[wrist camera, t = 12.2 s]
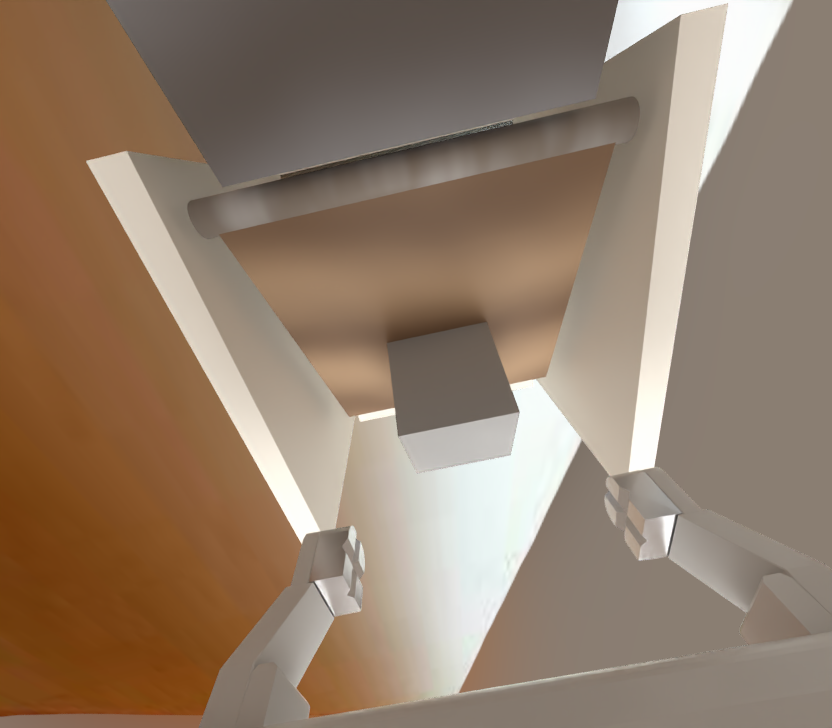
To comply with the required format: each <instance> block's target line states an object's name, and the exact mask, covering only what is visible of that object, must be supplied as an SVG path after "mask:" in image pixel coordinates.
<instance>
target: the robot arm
mask: <svg viewBox="0 0 832 728" xmlns="http://www.w3.org/2000/svg"><path fill="white" fill-rule="evenodd" d="M606 486H607V488H608V489H609V491H608V492H607V493H606V495H605V506H606V510H607V513H608V515H609V517H610V519H611V521H612V522H613V524H614V525H615V526H616V527H617V528H619V529H621V530H622V531H624V532H625V538H624V540H625V542H626V543H627V545H628V546H629V548H630V549H631V551H632V552H633V554H634V555H635V557H636V558H637V560H638V561H642V560H648V559H655V558H662V557H669V559H670V560H672V561H673V562H675V563H676V564H678V565H679V566H680V567H682V568H683V569H685V570H686V571H688V572H689V573H690V574H692V575H693V576H695V577H696V578H698V579H699V580H700V581H702V582H703V583H705V584H706V585H707V586H709V587H710V588H712V589H713V590H715V591H716V592H718V593H719V594H720V595H722V596H723V597H724V598H726V599H727V600H729V601H730V602H732V603H733V604H734V605H736V606H737V607H739V608H740V609H742V610H743V611H744V612H746V615H745V618H744V620H743V622H742V625H741V627H740V631H739V634H740V635H741V637H742V638H743V639H744V641H745V642H746V643H747V644H748V645H745V646H739V647H733V648H727V649H721V650H715V651H709V652H703V653H697V654H691V655H685V656H679V657H673V658H667V659H662V660H655V661H650V662H643V663H637V664H632V665H625V666H619V667H613V668H607V669H602V670H596V671H589V672H583V673H578V674H572V675H566V676H560V677H553V678H548V679H541V680H535V681H529V682H523V683H518V684H512V685H506V686H500V687H494V688H488V689H482V690H476V691H470V692H464V693H458V694H452V695H446V696H440V697H434V698H428V699H422V700H416V701H410V702H404V703H398V704H392V705H386V706H380V707H374V708H368V709H362V710H356V711H350V712H344V713H339V714H333V715H327V716H321V717H315V718H309V719H308V717H309V710H310V706H309V704H308V702H307V701H306V699H305V698H304V697H303V696H302V695H301V693H300V692H299V691H298V690H297V689H296V687H297V686H298V684H299V682H300V680H301V678H302V676H303V675H304V673H305V671H306V669H307V667H308V665H309V664H310V662H311V660H312V658H313V656H314V655H315V653H316V651H317V649H318V647H319V645H320V644H321V642H322V640H323V638H324V636H325V634H326V633H327V631H328V629H329V627H330V625H331V623H332V622H333V620H334V617H335V616H340V615H344V614H349V613H354V612H358V611H361V605H362V593H363V587H362V585H361V582H360V578H361V577H362V575H363V574H364V567H365V560H364V551H363V547H362V544H361V542H360V541H359V540H357V539H356V531H355V529H354V526H349V527H343V528H337V529H331V530H324V531H319V532H313V533H308V534H306V535H305V537H304V539H303V542H302V545H301V549H300V553H299V557H298V560H297V564H296V568H295V572H294V575H293V579H292V583H291V586H290V587H286V588H285V589H284V590H283V592H282V593H281V594H280V595H279V597H278V598H277V599H276V600H275V602H274V603H273V604H272V605H271V607H270V608H269V609H268V610H267V612H266V613H265V614H264V615H263V617H262V618H261V619H260V620H259V622H258V623H257V624H256V625H255V627H254V628H253V629H252V630H251V632H250V633H249V634H248V635H247V637H246V638H245V639H244V640H243V642H242V643H241V644H240V645H239V647H238V648H237V649H236V650H235V652H234V653H233V654H232V655H231V657H230V658H229V659H228V660H227V662H226V663H225V664H224V665H223V667H222V668H221V669H220V671H219V674H218V677H217V680H216V682H215V685H214V688H213V690H212V693H211V696H210V699H209V701H208V704H207V707H206V709H205V712H204V715H203V717H202V720H201V723H200V726H199V728H832V570H831V569H830V568H829V567H828V566H826V565H825V564H824V563H822V562H820V561H817V560H815V559H813V558H811V557H809V556H807V555H805V554H802V553H800V552H798V551H796V550H794V549H792V548H790V547H787V546H785V545H783V544H781V543H779V542H776V541H774V540H772V539H770V538H768V537H766V536H764V535H762V534H760V533H757V532H755V531H753V530H751V529H749V528H747V527H745V526H742V525H740V524H738V523H736V522H734V521H732V520H730V519H727V518H725V517H723V516H721V515H719V514H716V513H715V512H713V511H710V510H708V509H707V510H702V509H701V508H700V507H699V506H698V505H697V504H696V503H695V502H694V501H693V500H692V499H691V498H690V497H689V496H688V495H687V494H686V493H685V492H684V491H683V490H682V489H681V488H680V487H679V486H678V485H677V484H676V483H675V482H674V481H673V480H672V479H671V478H670V477H669V476H668V475H667V473H665V471H664V470H663V469H661V468H659V467H654V468H649V469H644V470H637V471H632V472H627V473H622V474H617V475H613V476H608V477H607V479H606Z"/></svg>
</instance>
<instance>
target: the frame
mask: <svg viewBox="0 0 832 728" xmlns="http://www.w3.org/2000/svg"><path fill="white" fill-rule="evenodd" d="M727 8H728V3H727V4H723V5H719V6H715V7H711V8H707V9H703V10H698V11H694V12H690V13H686V14H682V15H680V16H678V17H677V18H675V19H673V20H672V21H670V22H669V23H667V24H665V25H664V26H662V27H661V28H659V29H657V30H656V31H654V32H653V33H651V34H649V35H648V36H646V37H645V38H643V39H641V40H640V41H638V42H637V43H635V44H633V45H632V46H630V47H629V48H627V49H625V50H624V51H622V52H621V53H619V54H617V55H616V56H614V57H613V58H611V59H609V60H608V61H606V62H605V63H604V64H603V69H602V73H601V77H600V82H599V86H598V90H597V95H596V99H592V100H588V101H584V102H580V103H575V104H571V105H567V106H563V107H559V108H554V109H550V110H546V111H542V112H538V113H533V114H529V115H525V116H521V117H517V118H512V119H508V120H504V121H500V122H496V123H491V124H487V125H483V126H479V127H475V128H470V129H466V130H462V131H458V132H453V133H449V134H445V135H441V136H437V137H432V138H428V139H424V140H420V141H416V142H411V143H407V144H403V145H399V146H395V147H390V148H386V149H382V150H378V151H374V152H369V153H365V154H361V155H357V156H353V157H348V158H344V159H340V160H336V161H332V162H327V163H323V164H319V165H315V166H311V167H306V168H302V169H298V170H294V171H290V172H285V173H281V174H277V175H273V176H269V177H264V178H260V179H256V180H252V181H248V182H243V183H239V184H235V185H231V186H227V187H222V186H221V184H220V182H219V181H218V179H217V178H216V176H215V174H214V173H213V171H212V170H211V168H210V166H209V165H208V164H205V163H198V162H192V161H186V160H180V159H173V158H167V157H161V156H154V155H148V154H142V153H136V152H129V151H125V152H121V153H117V154H113V155H109V156H104V157H100V158H96V159H92V160H88V161H86V162H87V164H88V165H89V167H90V169H91V171H92V173H93V174H94V176H95V178H96V180H97V181H98V183H99V185H100V187H101V189H102V190H103V192H104V194H105V196H106V197H107V199H108V201H109V203H110V205H111V206H112V208H113V210H114V212H115V213H116V215H117V217H118V219H119V220H120V222H121V224H122V226H123V228H124V229H125V231H126V233H127V235H128V236H129V238H130V240H131V242H132V244H133V245H134V247H135V249H136V251H137V252H138V254H139V256H140V258H141V260H142V261H143V263H144V265H145V267H146V268H147V270H148V272H149V274H150V275H151V277H152V279H153V281H154V283H155V284H156V286H157V288H158V290H159V291H160V293H161V295H162V297H163V299H164V300H165V302H166V304H167V306H168V307H169V309H170V311H171V313H172V315H173V316H174V318H175V320H176V322H177V323H178V325H179V327H180V329H181V330H182V332H183V334H184V336H185V338H186V339H187V341H188V343H189V345H190V346H191V348H192V350H193V352H194V354H195V355H196V357H197V359H198V361H199V362H200V364H201V366H202V368H203V370H204V371H205V373H206V375H207V377H208V378H209V380H210V382H211V384H212V385H213V387H214V389H215V391H216V393H217V394H218V396H219V398H220V400H221V401H222V403H223V405H224V407H225V409H226V410H227V412H228V414H229V416H230V417H231V419H232V421H233V423H234V425H235V426H236V428H237V430H238V432H239V433H240V435H241V437H242V439H243V440H244V442H245V444H246V446H247V448H248V449H249V451H250V453H251V455H252V456H253V458H254V460H255V462H256V464H257V465H258V467H259V469H260V471H261V472H262V474H263V476H264V478H265V480H266V481H267V483H268V485H269V487H270V488H271V490H272V492H273V494H274V495H275V497H276V499H277V501H278V503H279V504H280V506H281V508H282V510H283V511H284V513H285V515H286V517H287V519H288V520H289V522H290V524H291V526H292V527H293V529H294V531H295V533H296V535H297V536H298V538H299V540H300V542H301V543H302V542H303V539H304V537H305V535H306V534H308V533H313V532H319V531H324V530H331V529H335V528H336V522H337V516H338V511H339V505H340V500H341V494H342V488H343V483H344V477H345V471H346V466H347V460H348V455H349V449H350V443H351V438H352V432H353V426H354V421H355V416H352V417H349V416H348V415H347V413H346V412H345V410H344V409H343V408H342V406H341V405H340V403H339V402H338V401H337V399H336V398H335V396H334V395H333V394H332V392H331V391H330V389H329V388H328V387H327V385H326V384H325V382H324V381H323V380H322V378H321V377H320V375H319V374H318V373H317V371H316V370H315V368H314V367H313V366H312V364H311V363H310V361H309V360H308V359H307V357H306V356H305V354H304V353H303V352H302V350H301V349H300V347H299V346H298V345H297V343H296V342H295V341H294V339H293V338H292V336H291V335H290V334H289V332H288V331H287V329H286V328H285V327H284V325H283V324H282V322H281V321H280V320H279V318H278V317H277V315H276V314H275V313H274V311H273V310H272V308H271V307H270V306H269V304H268V303H267V301H266V300H265V299H264V297H263V296H262V294H261V293H260V292H259V290H258V289H257V287H256V286H255V285H254V283H253V282H252V280H251V279H250V278H249V276H248V275H247V273H246V272H245V271H244V269H243V268H242V266H241V265H240V264H239V262H238V261H237V259H236V258H235V257H234V255H233V254H232V252H231V251H230V250H229V248H228V247H227V245H226V244H225V243H224V241H223V240H222V238H221V237H217V238H212V239H205V238H204V237H202V236H201V235H200V234H199V233H198V232H197V231H196V229H195V228H194V226H193V224H192V222H191V220H190V218H189V215H188V210H187V205H188V202H189V201H191V200H196V199H200V198H204V197H208V196H213V195H217V194H221V193H225V192H229V191H234V190H238V189H242V188H246V187H250V186H255V185H259V184H263V183H267V182H272V181H276V180H280V179H281V177H280V175H284V174H288V173H292V172H297V171H301V170H305V169H309V168H313V167H318V166H322V165H326V164H330V163H334V162H339V161H343V160H347V159H351V158H355V157H360V156H364V155H368V154H372V153H376V152H381V151H385V150H389V149H393V148H398V147H402V146H406V145H410V144H414V143H419V142H423V141H427V140H431V139H435V138H440V137H444V136H448V135H452V134H456V133H461V132H465V131H469V130H473V129H477V128H482V127H486V126H490V125H494V124H498V123H503V122H507V121H511V120H512V121H513V124H516V123H520V122H524V121H529V120H533V119H537V118H541V117H546V116H550V115H554V114H558V113H562V112H567V111H571V110H575V109H579V108H583V107H588V106H592V105H596V104H600V103H605V102H609V101H613V100H617V99H621V98H626V97H630V96H633V97H635V98H636V99H637V100H638V103H639V106H640V120H639V125H638V128H637V131H636V133H635V135H634V136H633V138H632V139H631V140H630V141H629V142H627V143H623V144H618V145H615V147H614V150H613V153H612V157H611V160H610V164H609V167H608V170H607V174H606V177H605V180H604V184H603V187H602V190H601V194H600V197H599V201H598V204H597V207H596V211H595V214H594V217H593V221H592V224H591V228H590V231H589V234H588V238H587V241H586V244H585V248H584V251H583V254H582V258H581V261H580V265H579V268H578V271H577V275H576V278H575V281H574V285H573V288H572V291H571V295H570V298H569V302H568V305H567V308H566V312H565V315H564V318H563V322H562V325H561V328H560V332H559V335H558V339H557V342H556V345H555V349H554V352H553V355H552V359H551V362H550V366H549V369H548V372H547V376H546V377H543V378H538V379H536V380H537V381H538V382H539V384H540V385H541V386H542V388H543V389H544V390H545V391H546V393H547V394H548V395H549V397H550V398H551V399H552V401H553V402H554V403H555V405H556V406H557V407H558V409H559V410H560V411H561V412H562V414H563V415H564V416H565V418H566V419H567V420H568V422H569V423H570V424H571V426H572V427H573V428H574V430H575V431H576V432H577V433H578V435H579V436H580V437H581V439H582V440H583V441H584V443H585V444H586V445H587V447H588V448H589V449H590V450H591V452H592V453H593V454H594V456H595V457H596V458H597V460H598V461H599V462H600V464H601V465H602V466H603V468H604V469H605V470H606V472H607V473H608V474H609V475H610V476H613V475H617V474H622V473H627V472H632V471H637V470H644V469H649V468H654V464H655V458H656V452H657V446H658V439H659V433H660V427H661V421H662V414H663V408H664V401H665V395H666V389H667V383H668V377H669V370H670V364H671V358H672V352H673V345H674V339H675V333H676V327H677V320H678V314H679V307H680V302H681V295H682V289H683V283H684V277H685V270H686V264H687V258H688V252H689V245H690V239H691V233H692V227H693V220H694V214H695V208H696V202H697V195H698V189H699V183H700V177H701V170H702V164H703V158H704V151H705V145H706V139H707V133H708V126H709V120H710V114H711V108H712V101H713V95H714V89H715V83H716V76H717V70H718V64H719V58H720V51H721V45H722V39H723V33H724V26H725V20H726V14H727ZM510 387H511V390H512V391H513V390H518V389H523V388H528V387H533V380H528V381H523V382H518V383H513V384H510ZM391 415H395V408H391V409H386V410H381V411H376V412H372V413H367V414H362V415H358V417H359V420H360V422H361V421H366V420H371V419H376V418H381V417H386V416H391Z"/></svg>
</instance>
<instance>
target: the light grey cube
mask: <svg viewBox="0 0 832 728" xmlns="http://www.w3.org/2000/svg"><path fill="white" fill-rule="evenodd" d="M387 347H388V356H389V364H390V372H391V381H392V389H393V397H394V406H395V414H396V422H397V430H398V437H399V439H400V441H401V443H402V445H403V447H404V449H405V451H406V453H407V455H408V457H409V459H410V461H411V463H412V465H413V467H414V469H415V471H416V473H422V472H427V471H432V470H438V469H443V468H448V467H453V466H458V465H463V464H468V463H473V462H478V461H484V460H489V459H494V458H499V457H504V456H509V455H511V451H512V446H513V441H514V436H515V432H516V427H517V422H518V417H519V413H520V412H519V409H518V406H517V403H516V401H515V398H514V395H513V393H512V390H511V387H510V384H509V382H508V379H507V376H506V373H505V371H504V368H503V365H502V362H501V360H500V357H499V354H498V351H497V349H496V346H495V343H494V340H493V338H492V335H491V332H490V329H489V327H488V324H487V322H483V323H479V324H474V325H469V326H465V327H460V328H455V329H451V330H446V331H441V332H437V333H432V334H427V335H422V336H418V337H413V338H408V339H404V340H399V341H394V342H390V343H387Z"/></svg>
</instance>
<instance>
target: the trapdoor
mask: <svg viewBox="0 0 832 728" xmlns="http://www.w3.org/2000/svg"><path fill="white" fill-rule="evenodd" d="M106 1H107V3H108V4H109V6H110V8H111V9H112V11H113V12H114V14H115V16H116V17H117V19H118V20H119V22H120V24H121V25H122V27H123V29H124V30H125V32H126V33H127V35H128V37H129V38H130V40H131V41H132V43H133V45H134V46H135V48H136V49H137V51H138V53H139V54H140V56H141V57H142V59H143V61H144V62H145V64H146V65H147V67H148V69H149V70H150V72H151V73H152V75H153V77H154V78H155V80H156V81H157V83H158V85H159V86H160V88H161V89H162V91H163V93H164V94H165V96H166V97H167V99H168V101H169V102H170V104H171V105H172V107H173V109H174V110H175V112H176V113H177V115H178V117H179V118H180V120H181V121H182V123H183V125H184V126H185V128H186V129H187V131H188V133H189V134H190V136H191V137H192V139H193V141H194V142H195V144H196V145H197V147H198V149H199V150H200V152H201V154H202V155H203V157H204V158H205V160H206V162H207V163H208V165H209V166H210V168H211V170H212V171H213V173H214V174H215V176H216V178H217V179H218V181H219V182H220V184H221V186H222V187H227V186H231V185H235V184H239V183H243V182H248V181H252V180H256V179H260V178H264V177H269V176H273V175H277V174H281V173H285V172H290V171H294V170H298V169H302V168H306V167H311V166H315V165H319V164H323V163H327V162H332V161H336V160H340V159H344V158H348V157H353V156H357V155H361V154H365V153H369V152H374V151H378V150H382V149H386V148H390V147H395V146H399V145H403V144H407V143H411V142H416V141H420V140H424V139H428V138H432V137H437V136H441V135H445V134H449V133H453V132H458V131H462V130H466V129H470V128H475V127H479V126H483V125H487V124H491V123H496V122H500V121H504V120H508V119H512V118H517V117H521V116H525V115H529V114H533V113H538V112H542V111H546V110H550V109H554V108H559V107H563V106H567V105H571V104H575V103H580V102H584V101H588V100H592V99H596V95H597V90H598V86H599V82H600V77H601V73H602V69H603V64H604V60H605V56H606V51H607V47H608V43H609V38H610V34H611V30H612V25H613V21H614V17H615V12H616V8H617V4H618V0H106ZM639 120H640V106H639V103H638V100H637V99H636V98H635V97H633V96H630V97H626V98H621V99H617V100H613V101H609V102H605V103H600V104H596V105H592V106H588V107H583V108H579V109H575V110H571V111H567V112H562V113H558V114H554V115H550V116H546V117H541V118H537V119H533V120H529V121H524V122H520V123H516V124H512V125H508V126H503V127H499V128H495V129H491V130H487V131H482V132H478V133H474V134H470V135H465V136H461V137H457V138H453V139H449V140H444V141H440V142H436V143H432V144H428V145H423V146H419V147H415V148H411V149H406V150H402V151H398V152H394V153H390V154H385V155H381V156H377V157H373V158H368V159H364V160H360V161H356V162H352V163H347V164H343V165H339V166H335V167H331V168H326V169H322V170H318V171H314V172H309V173H305V174H301V175H297V176H293V177H288V178H284V179H280V180H276V181H272V182H267V183H263V184H259V185H255V186H250V187H246V188H242V189H238V190H234V191H229V192H225V193H221V194H217V195H213V196H208V197H204V198H200V199H196V200H191V201H189V202H188V205H187V210H188V215H189V218H190V220H191V222H192V224H193V226H194V228H195V229H196V231H197V232H198V233H199V234H200V235H201V236H202V237H204V238H205V239H212V238H217V237H221V238H222V240H223V241H224V243H225V244H226V245H227V247H228V248H229V250H230V251H231V252H232V254H233V255H234V257H235V258H236V259H237V261H238V262H239V264H240V265H241V266H242V268H243V269H244V271H245V272H246V273H247V275H248V276H249V278H250V279H251V280H252V282H253V283H254V285H255V286H256V287H257V289H258V290H259V292H260V293H261V294H262V296H263V297H264V299H265V300H266V301H267V303H268V304H269V306H270V307H271V308H272V310H273V311H274V313H275V314H276V315H277V317H278V318H279V320H280V321H281V322H282V324H283V325H284V327H285V328H286V329H287V331H288V332H289V334H290V335H291V336H292V338H293V339H294V341H295V342H296V343H297V345H298V346H299V347H300V349H301V350H302V352H303V353H304V354H305V356H306V357H307V359H308V360H309V361H310V363H311V364H312V366H313V367H314V368H315V370H316V371H317V373H318V374H319V375H320V377H321V378H322V380H323V381H324V382H325V384H326V385H327V387H328V388H329V389H330V391H331V392H332V394H333V395H334V396H335V398H336V399H337V401H338V402H339V403H340V405H341V406H342V408H343V409H344V410H345V412H346V413H347V415H348V416H349V417H352V416H357V415H362V414H367V413H372V412H376V411H381V410H386V409H391V408H395V406H394V397H393V389H392V381H391V372H390V364H389V356H388V347H387V343H390V342H394V341H399V340H404V339H408V338H413V337H418V336H422V335H427V334H432V333H437V332H441V331H446V330H451V329H455V328H460V327H465V326H469V325H474V324H479V323H483V322H487V324H488V327H489V329H490V332H491V335H492V338H493V340H494V343H495V346H496V349H497V351H498V354H499V357H500V360H501V362H502V365H503V368H504V371H505V373H506V376H507V379H508V382H509V384H513V383H518V382H523V381H528V380H533V379H538V378H543V377H546V376H547V372H548V369H549V366H550V362H551V359H552V355H553V352H554V349H555V345H556V342H557V339H558V335H559V332H560V328H561V325H562V322H563V318H564V315H565V312H566V308H567V305H568V302H569V298H570V295H571V291H572V288H573V285H574V281H575V278H576V275H577V271H578V268H579V265H580V261H581V258H582V254H583V251H584V248H585V244H586V241H587V238H588V234H589V231H590V228H591V224H592V221H593V217H594V214H595V211H596V207H597V204H598V201H599V197H600V194H601V190H602V187H603V184H604V180H605V177H606V174H607V170H608V167H609V164H610V160H611V157H612V153H613V150H614V147H615V145H618V144H623V143H627V142H629V141H630V140H631V139H632V138H633V136H634V135H635V133H636V131H637V128H638V125H639Z"/></svg>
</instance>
